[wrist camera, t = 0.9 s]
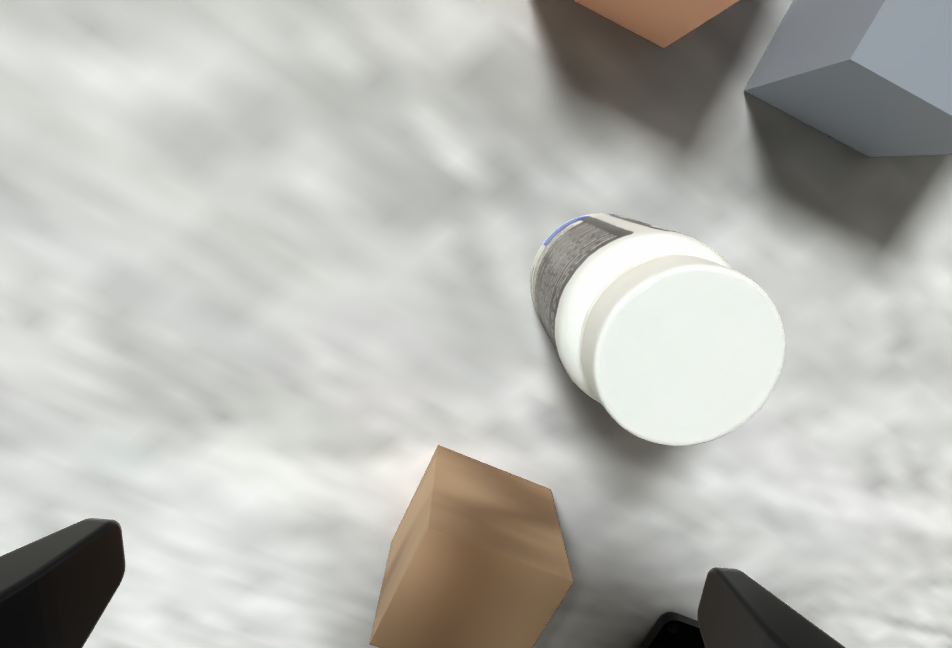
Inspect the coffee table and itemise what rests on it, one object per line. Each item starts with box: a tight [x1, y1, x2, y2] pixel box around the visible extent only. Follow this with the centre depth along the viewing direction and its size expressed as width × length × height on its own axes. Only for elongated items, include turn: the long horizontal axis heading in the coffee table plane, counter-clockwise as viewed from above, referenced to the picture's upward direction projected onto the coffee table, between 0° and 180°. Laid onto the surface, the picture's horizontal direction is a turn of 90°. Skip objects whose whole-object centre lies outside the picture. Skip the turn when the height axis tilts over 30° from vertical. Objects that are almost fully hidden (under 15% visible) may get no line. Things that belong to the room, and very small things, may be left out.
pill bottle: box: [530, 213, 785, 446], centre depth 14 cm, size 5×5×8 cm
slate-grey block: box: [744, 0, 952, 157], centre depth 14 cm, size 5×5×5 cm
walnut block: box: [370, 445, 573, 648], centre depth 19 cm, size 5×5×5 cm
